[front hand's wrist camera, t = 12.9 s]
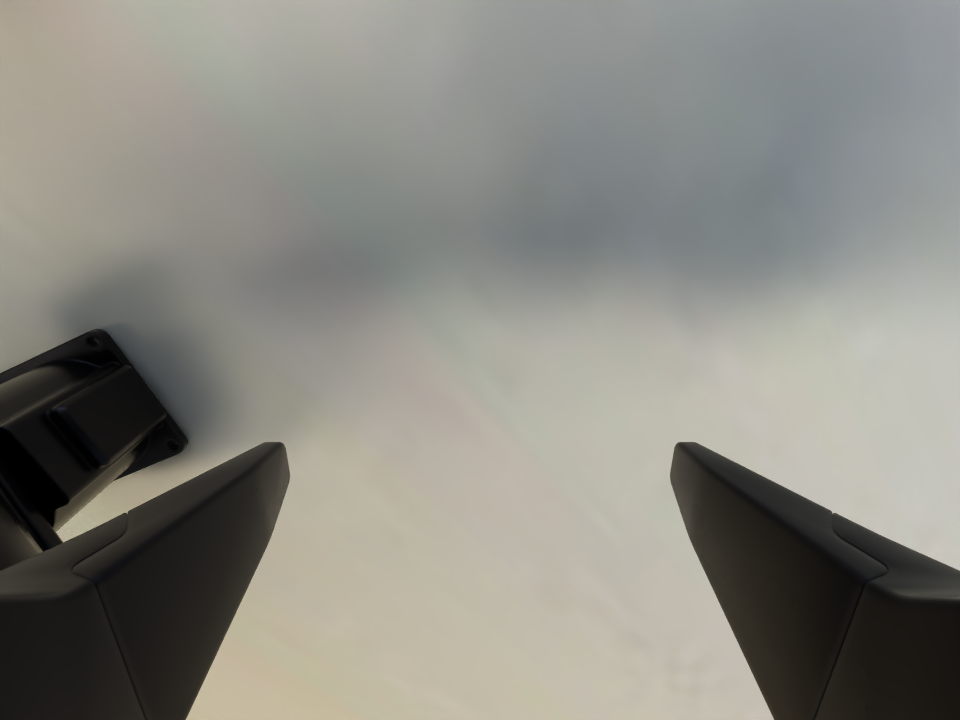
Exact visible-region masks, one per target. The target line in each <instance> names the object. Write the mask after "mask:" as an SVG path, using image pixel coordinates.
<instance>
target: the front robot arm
mask: <svg viewBox="0 0 960 720" xmlns="http://www.w3.org/2000/svg"><path fill="white" fill-rule="evenodd" d="M94 338H96V339H97V340H99V342H100V345H99V344H97V343H96V342H95V340H94ZM172 440H173V441H175V442H176V443H177V444H178V445H175V444H174V443H173V442H172ZM187 445H188V440H187V438H186V436H185V435H184V434H183V432H182V431H181V430H180V428H179V427H178V426H177V424H176V423H175V422H174V420H173V419H172V418H171V416H170V415H169V414H168V412H167V411H166V410H165V408H164V407H163V406H162V404H161V403H160V402H159V400H158V399H157V398H156V396H155V395H154V394H153V392H152V391H151V390H150V388H149V387H148V386H147V384H146V383H145V382H144V380H143V379H142V378H141V376H140V375H139V374H138V372H137V371H136V370H135V368H134V367H133V366H132V364H131V363H130V362H129V360H128V359H127V358H126V356H125V355H124V354H123V352H122V351H121V350H120V348H119V347H118V346H117V344H116V343H115V342H114V340H113V339H112V338H111V336H110V335H109V334H108V333H107V332H105V331H103V330H101V329H94V330H91V331H89V332H87V333H85V334H83V335H80V336H78V337H76V338H74V339H72V340H70V341H68V342H66V343H64V344H62V345H59V346H57V347H55V348H53V349H51V350H49V351H47V352H45V353H43V354H40V355H38V356H36V357H34V358H32V359H30V360H28V361H26V362H24V363H22V364H19V365H17V366H15V367H13V368H11V369H9V370H7V371H5V372H3V373H1V374H0V720H186V718H187V716H188V714H189V712H190V709H191V707H192V705H193V703H194V701H195V699H196V697H197V695H198V692H199V690H200V688H201V686H202V684H203V682H204V680H205V677H206V675H207V673H208V671H209V669H210V667H211V665H212V663H213V660H214V658H215V656H216V654H217V652H218V650H219V648H220V645H221V643H222V641H223V639H224V637H225V635H226V633H227V631H228V628H229V626H230V624H231V622H232V620H233V618H234V616H235V614H236V611H237V609H238V607H239V605H240V603H241V601H242V599H243V596H244V594H245V592H246V590H247V588H248V586H249V584H250V582H251V579H252V577H253V575H254V573H255V571H256V569H257V567H258V564H259V562H260V560H261V558H262V556H263V554H264V552H265V550H266V547H267V545H268V543H269V540H270V538H271V535H272V532H273V530H274V527H275V524H276V521H277V517H278V514H279V511H280V508H281V505H282V502H283V499H284V496H285V493H286V490H287V487H288V484H289V480H290V472H289V466H288V460H287V454H286V448H285V446H284V444H283V443H282V442H265V443H262V444H260V445H258V446H256V447H254V448H252V449H250V450H248V451H246V452H244V453H242V454H240V455H239V456H237V457H235V458H233V459H231V460H229V461H227V462H225V463H223V464H221V465H219V466H217V467H215V468H213V469H211V470H209V471H207V472H205V473H203V474H201V475H199V476H197V477H195V478H193V479H191V480H189V481H187V482H185V483H183V484H181V485H179V486H177V487H175V488H173V489H171V490H169V491H167V492H165V493H163V494H161V495H159V496H157V497H155V498H153V499H151V500H150V501H148V502H146V503H144V504H142V505H140V506H138V507H136V508H134V509H132V510H130V511H128V514H127V513H124V514H122V515H120V516H118V517H116V518H114V519H112V520H110V521H108V522H106V523H104V524H102V525H100V526H98V527H96V528H93V529H91V530H89V531H87V532H85V533H83V534H81V535H79V536H77V537H75V538H72V539H70V540H68V541H66V542H64V543H63V542H62V540H61V539H60V537H59V536H58V535H57V533H56V531H57V530H58V529H60V528H61V527H62V526H63V525H64V524H65V523H66V522H67V521H69V520H70V519H71V518H72V517H73V516H74V515H75V514H76V513H78V512H79V511H80V510H81V509H82V508H83V507H84V506H85V505H87V504H88V503H89V502H90V501H91V500H92V499H93V498H94V497H96V496H97V495H98V494H99V493H100V492H101V491H102V490H104V489H105V488H106V487H107V486H108V485H109V484H110V483H111V482H113V481H114V480H117V479H119V478H121V477H124V476H126V475H129V474H131V473H133V472H136V471H138V470H141V469H143V468H145V467H148V466H150V465H153V464H155V463H157V462H160V461H162V460H165V459H167V458H169V457H172V456H174V455H177V454H179V453H180V452H182V451H183V450H184V449H185V448H186V447H187ZM670 480H671V484H672V487H673V490H674V493H675V496H676V499H677V502H678V505H679V508H680V511H681V514H682V517H683V521H684V524H685V527H686V530H687V532H688V535H689V538H690V540H691V543H692V545H693V547H694V550H695V552H696V554H697V556H698V558H699V560H700V562H701V564H702V567H703V569H704V571H705V573H706V575H707V577H708V579H709V582H710V584H711V586H712V588H713V590H714V592H715V594H716V596H717V599H718V601H719V603H720V605H721V607H722V609H723V611H724V614H725V616H726V618H727V620H728V622H729V624H730V626H731V628H732V631H733V633H734V635H735V637H736V639H737V641H738V643H739V646H740V648H741V650H742V652H743V654H744V656H745V658H746V660H747V663H748V665H749V667H750V669H751V671H752V673H753V675H754V678H755V680H756V682H757V684H758V686H759V688H760V690H761V692H762V695H763V697H764V699H765V701H766V703H767V705H768V707H769V710H770V712H771V714H772V716H773V718H774V720H960V571H959V570H957V569H955V568H952V567H950V566H948V565H946V564H943V563H941V562H939V561H937V560H934V559H932V558H930V557H928V556H925V555H923V554H921V553H919V552H916V551H914V550H912V549H910V548H907V547H905V546H903V545H901V544H899V543H896V542H894V541H892V540H890V539H888V538H885V537H883V536H881V535H879V534H877V533H875V532H873V531H871V530H869V529H867V528H864V527H862V526H860V525H858V524H856V523H854V522H852V521H850V520H848V519H846V518H844V517H842V516H840V515H838V514H836V513H833V514H832V511H830V510H828V509H826V508H824V507H822V506H820V505H818V504H816V503H814V502H812V501H811V500H809V499H807V498H805V497H803V496H801V495H799V494H797V493H795V492H793V491H791V490H789V489H787V488H785V487H783V486H781V485H779V484H777V483H775V482H773V481H771V480H769V479H767V478H765V477H763V476H761V475H759V474H757V473H755V472H753V471H751V470H749V469H747V468H745V467H743V466H741V465H739V464H737V463H735V462H733V461H731V460H729V459H727V458H725V457H723V456H721V455H720V454H718V453H716V452H714V451H712V450H710V449H708V448H706V447H704V446H702V445H700V444H698V443H695V442H678V443H677V444H676V446H675V448H674V454H673V460H672V466H671V472H670Z"/></svg>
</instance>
